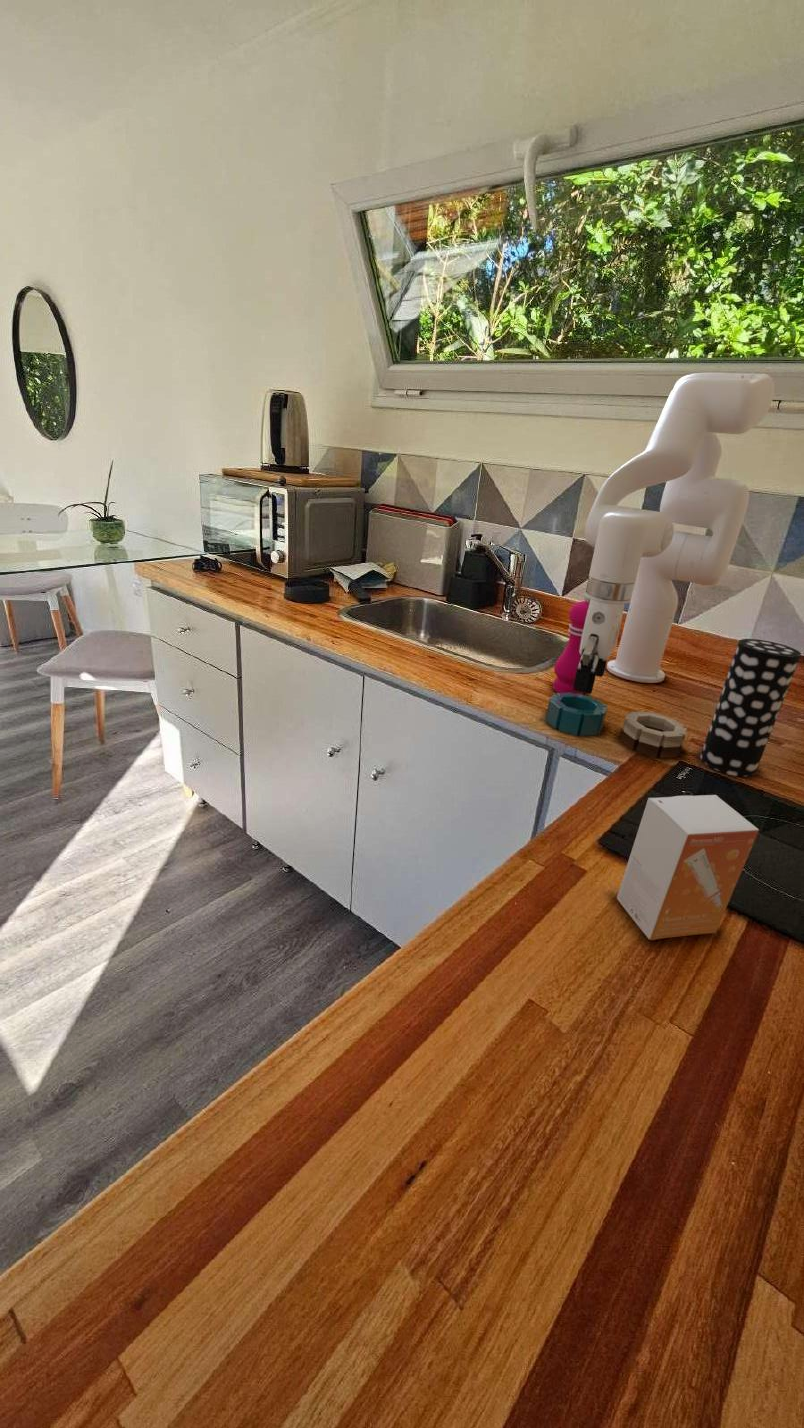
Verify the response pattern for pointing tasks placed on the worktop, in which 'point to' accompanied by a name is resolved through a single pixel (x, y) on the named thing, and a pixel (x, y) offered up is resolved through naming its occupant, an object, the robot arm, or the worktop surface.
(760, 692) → the spotted tube
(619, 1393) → the worktop surface
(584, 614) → the pepper mill
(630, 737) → the ring stack
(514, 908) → the worktop surface
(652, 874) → the small box
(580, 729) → the teal ring
